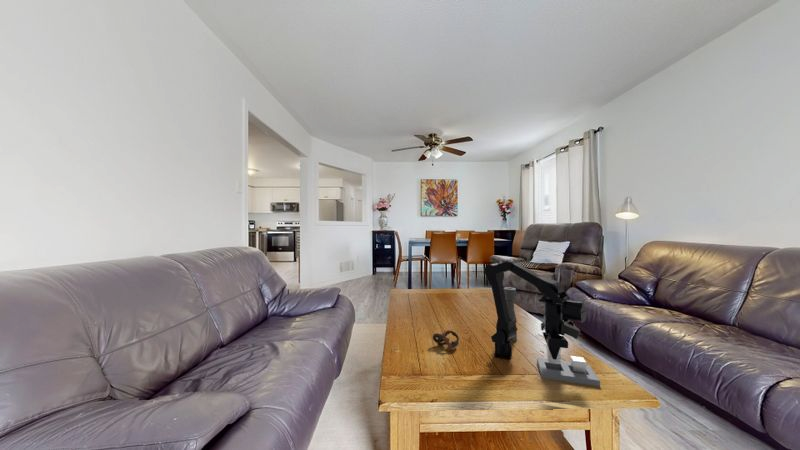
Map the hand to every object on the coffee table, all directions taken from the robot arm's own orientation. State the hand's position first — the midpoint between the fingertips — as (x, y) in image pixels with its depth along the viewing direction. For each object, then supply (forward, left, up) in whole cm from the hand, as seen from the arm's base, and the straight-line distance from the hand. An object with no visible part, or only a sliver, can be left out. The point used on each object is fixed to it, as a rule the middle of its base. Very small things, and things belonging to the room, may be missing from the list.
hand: (553, 356), depth 106 cm
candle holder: (-14, +31, -7) cm, 35 cm away
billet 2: (+8, 0, -6) cm, 10 cm away
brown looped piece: (-43, +12, -7) cm, 45 cm away
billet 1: (0, 0, -2) cm, 2 cm away
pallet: (+4, 0, -7) cm, 8 cm away
